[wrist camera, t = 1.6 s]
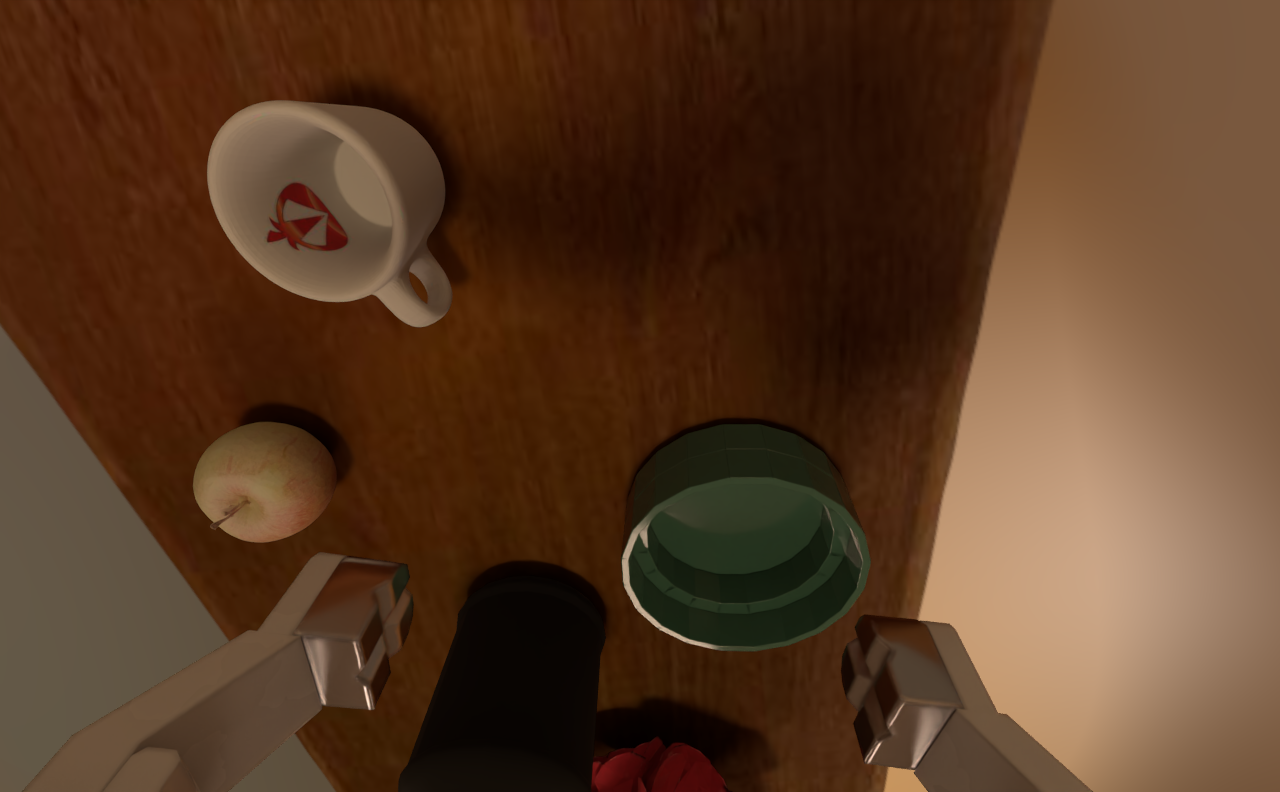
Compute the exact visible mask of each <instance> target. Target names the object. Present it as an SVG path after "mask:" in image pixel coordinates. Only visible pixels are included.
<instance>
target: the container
mask: <svg viewBox="0 0 1280 792" xmlns="http://www.w3.org/2000/svg"><path fill="white" fill-rule="evenodd" d="M605 639H606V636H605V630H604V625H603V620H602V617H601V615H600V614H599V613H598V611H597V610H596V608H595V607H594V605H593V604H592V602H591V601H590V600H589V599H588V598H586V597H585V596H584V595H582V594H581V593H580V592H578V591H577V590H576V589H574V588H573V587H571V586H568V585H566V584H563V583H561V582H559V581H556V580H554V579H548V578H542V577H536V576H516V577H508V578H505V579H501V580H498V581H495V582H491V583H489V584H487V585H485V586H484V587H482V588H481V589H479V590H478V591H476V592H475V593H473V594H472V595H471V596H470V597H469V598H468V600H467V601H466V603H465V604H464V606H463V607H462V609H461V610H460V612H459V613H458V621H457V631H456V634H455V637H454V639H453V642H452V645H451V648H450V650H449V653H448V656H447V658H446V661H445V664H444V667H443V669H442V672H441V675H440V678H439V680H438V683H437V686H436V689H435V691H434V694H433V697H432V700H431V702H430V705H429V708H428V711H427V713H426V716H425V719H424V721H423V724H422V727H421V730H420V732H419V735H418V738H417V741H416V743H415V746H414V749H413V752H412V754H411V757H410V760H409V763H408V765H407V766H406V767H405V769H404V770H403V772H402V773H401V774H400V778H399V786H398V792H591V785H592V770H593V755H594V741H595V726H596V712H597V697H598V683H599V668H600V654H601V652H602V649H603V645H604V642H605Z"/></svg>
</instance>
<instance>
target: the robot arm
mask: <svg viewBox="0 0 1280 792" xmlns="http://www.w3.org/2000/svg"><path fill="white" fill-rule="evenodd" d="M409 578H410V575H409V570H408V565H407V564H403V563H397V562H390V561H383V560H375V559H368V558H361V557H354V556H345V555H337V554H330V553H322V552H319V553H318V554H316V555H315V556H313V557H312V558H311V559H310V560H309V561H308V562H307V564H306V565H305V567H304V568H303V569H302V571H301V572H300V573H299V575H298V576H297V577H296V579H295V580H294V582H293V583H292V584H291V586H290V587H289V588H288V590H287V591H286V593H285V594H284V595H283V597H282V598H281V599H280V601H279V602H278V603H277V605H276V606H275V608H274V609H273V610H272V612H271V613H270V614H269V616H268V617H267V619H266V620H265V621H264V623H263V624H262V625H261V627H260V628H259V630H258V631H251V630H248V631H246V632H245V633H243V634H241V635H240V636H238V637H236V638H235V639H233V640H231V641H230V642H228V643H226V644H225V645H223V646H221V647H220V648H218V649H216V650H214V651H213V652H211V653H210V654H208V655H206V656H204V657H203V658H201V659H199V660H198V661H196V662H194V663H193V664H191V665H189V666H188V667H186V668H184V669H183V670H181V671H179V672H178V673H176V674H174V675H173V676H171V677H169V678H168V679H166V680H164V681H162V682H161V683H159V684H157V685H156V686H154V687H153V688H151V689H149V690H147V691H146V692H144V693H142V694H141V695H139V696H137V697H136V698H134V699H132V700H131V701H129V702H127V703H126V704H124V705H122V706H121V707H119V708H117V709H116V710H114V711H112V712H110V713H109V714H107V715H106V716H104V717H102V718H100V719H99V720H97V721H96V722H94V723H92V724H90V725H89V726H87V727H85V728H84V729H82V730H80V731H79V732H77V733H75V734H74V735H72V736H71V737H70V738H69V740H68V741H67V742H66V743H65V744H64V745H63V746H62V747H61V749H60V750H59V751H58V752H57V753H56V754H55V755H54V756H53V757H52V759H51V760H50V761H49V762H48V763H47V764H46V765H45V766H44V768H43V769H42V770H41V771H40V772H39V773H38V774H37V775H36V777H35V778H34V779H33V780H32V781H31V782H30V783H29V785H27V787H26V788H25V789H24V790H23V791H22V792H228V791H229V790H231V789H232V788H233V787H234V786H235V785H236V784H237V783H238V782H240V781H241V780H242V779H243V778H244V777H245V776H246V775H248V774H249V773H250V772H251V771H252V770H253V769H254V768H255V767H257V766H258V765H259V764H260V763H261V762H262V761H263V760H265V759H266V758H267V757H268V756H269V755H270V754H271V753H272V752H274V751H275V750H276V749H277V748H278V747H279V746H280V745H282V744H283V743H284V742H285V741H286V740H287V739H288V738H290V737H291V736H292V735H293V734H294V733H295V732H296V731H297V730H299V729H300V728H301V727H302V726H303V725H304V724H305V723H307V722H308V721H309V720H310V719H311V718H312V717H313V716H314V715H316V714H317V713H318V712H319V711H320V710H321V709H322V706H333V707H345V708H358V709H370V710H374V708H375V705H376V703H377V701H378V699H379V697H380V695H381V692H382V690H383V688H384V686H385V684H386V682H387V680H388V677H389V675H390V673H391V671H390V666H389V660H388V659H389V658H390V657H391V656H393V655H394V654H396V653H397V652H398V651H400V650H401V649H402V647H403V645H404V642H405V640H406V638H407V635H408V633H409V629H410V625H411V621H412V617H413V605H414V604H413V596H412V594H411V593H410V592H409V591H408V590H407V589H406V588H405V587H406V584H407V582H408V580H409ZM855 630H856V633H857V637H858V638H856V639H854V640H853V641H851V642H849V643H847V646H846V648H845V651H844V653H843V656H842V666H841V674H842V683H843V687H844V691H845V695H846V698H847V700H848V701H849V702H850V703H851V704H852V705H853V706H854V707H855V708H856V710H857V711H858V714H857V716H856V719H855V721H854V723H853V724H854V728H855V731H856V735H857V739H858V742H859V746H860V749H861V753H862V756H863V760H864V763H866V764H873V765H880V766H888V767H895V768H902V769H909V770H915V772H914V774H915V775H916V777H917V778H918V779H919V780H920V782H921V783H922V784H923V786H924V787H925V788H926V790H927V791H928V792H1093V791H1092V790H1090V789H1089V788H1088V787H1087V786H1086V785H1085V784H1084V783H1082V781H1080V780H1079V779H1078V778H1077V777H1076V776H1075V775H1074V774H1073V773H1072V772H1070V771H1069V770H1068V769H1067V768H1066V767H1065V766H1064V765H1063V764H1062V763H1060V762H1059V761H1058V760H1057V759H1056V758H1055V757H1054V756H1053V755H1051V754H1050V753H1049V752H1048V751H1047V750H1046V749H1045V748H1044V747H1043V746H1042V745H1040V744H1039V743H1038V742H1037V741H1036V740H1035V739H1034V738H1033V737H1031V736H1030V735H1029V734H1028V733H1027V732H1026V731H1025V730H1024V729H1023V728H1021V727H1020V726H1019V725H1018V724H1017V723H1016V722H1015V721H1014V720H1012V719H1011V718H1010V717H1009V716H1008V715H1007V714H1001V713H998V712H997V710H996V708H995V706H994V704H993V702H992V700H991V698H990V696H989V694H988V692H987V691H986V689H985V687H984V685H983V683H982V681H981V679H980V677H979V675H978V673H977V671H976V669H975V667H974V665H973V663H972V661H971V659H970V657H969V655H968V653H967V651H966V649H965V647H964V645H963V644H962V641H961V639H960V638H959V636H958V633H957V632H956V630H955V629H954V628H953V627H952V626H951V625H950V624H947V623H937V622H929V621H918V620H915V619H905V618H895V617H885V616H875V615H863V616H862V617H860V618H859V620H858V622H857V624H856V626H855Z"/></svg>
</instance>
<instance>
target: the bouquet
mask: <svg viewBox="0 0 1280 792" xmlns="http://www.w3.org/2000/svg"><path fill="white" fill-rule="evenodd" d="M591 792H732V791H729V790H728V788H727V786H726V784H725V781H724V779H723V778H722V776H721V775H720V774H719V773H718V772H717V770H716V769H715V768H714V767H713V766H712V764H711V761H710V760H709V759H708V758H706V757H705V756H704V755H703V754H702V753H701V752H700V751H699V750H697V749H695V748H693V747H691V746H689V745H687V744H685V743H673V744H671V745H670V746H669V747H668V748H666V747H665V746H664V745H663V741H662V740H661V739H660V738H659V737H658V736H657V737H655V738H654V739H653V740H652V741H650V742H646V743H643V744H640V745H639V746H637V747H636V748H621V749H618V750H616V751H613V752H610V753H609V754H608V755H607V756H596V757H593V770H592V785H591Z"/></svg>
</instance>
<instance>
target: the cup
mask: <svg viewBox="0 0 1280 792" xmlns="http://www.w3.org/2000/svg"><path fill="white" fill-rule="evenodd" d="M207 179H208V187H209V193H210V198H211V201H212V204H213V207H214V210H215V213H216V216H217V218H218V220H219V222H220V224H221V226H222V228H223V230H224V231H225V233H226V235H227V236H228V238H229V239H230V241H231V242H232V244H233V245H234V246H235V248H236V249H237V250H238V251H239V252H240V254H241V255H242V256H243V257H244V258H245V259H246V260H247V261H248V262H249V263H250V264H251V265H252V266H253V267H254V268H255V269H256V270H258V271H259V272H260V273H261V274H263V275H264V276H265V277H267V278H268V279H269V280H271V281H272V282H274V283H276V284H277V285H279V286H281V287H282V288H284V289H286V290H288V291H291V292H293V293H295V294H298V295H300V296H303V297H307V298H310V299H315V300H319V301H327V302H346V301H352V300H357V299H360V298H363V297H366V296H368V295H370V294H373V295H375V296H377V297H378V298H379V299H380V300H381V301H382V302H383V303H384V304H385V305H386V306H387V307H388V309H389V310H390V311H392V312H393V313H394V314H395V315H396V316H397V317H398V318H399V319H400V320H402V321H403V322H405V323H407V324H409V325H411V326H415V327H425V326H428V325H430V324H433V323H435V322H436V321H438V320H439V319H441V318H442V317H443V316H444V315H445V314H446V313H447V311H448V310H449V308H450V305H451V302H452V289H451V285H450V282H449V280H448V278H447V276H446V274H445V272H444V271H443V269H442V268H441V266H440V265H439V263H438V262H437V261H436V259H435V258H434V257H433V256H432V254H431V253H430V251H429V250H428V247H427V239H428V237H429V235H430V233H431V232H432V231H433V229H434V228H435V226H436V224H437V223H438V221H439V219H440V216H441V214H442V211H443V207H444V202H445V182H444V176H443V172H442V169H441V166H440V163H439V161H438V159H437V157H436V155H435V153H434V151H433V150H432V148H431V146H430V145H429V144H428V142H427V141H426V140H425V139H424V138H423V136H422V135H421V134H420V133H419V132H418V131H417V130H415V129H414V128H413V127H412V126H411V125H409V124H408V123H406V122H405V121H403V120H402V119H400V118H398V117H396V116H394V115H392V114H390V113H387V112H384V111H381V110H378V109H373V108H368V107H361V106H349V105H336V104H324V103H312V102H299V101H286V100H278V101H268V102H262V103H258V104H255V105H252V106H249V107H247V108H245V109H243V110H241V111H239V112H237V113H236V114H235V115H233V116H232V117H231V118H230V119H229V120H228V121H227V122H226V123H225V124H224V125H223V126H222V128H221V129H220V130H219V132H218V134H217V135H216V137H215V139H214V141H213V144H212V146H211V150H210V153H209V159H208V168H207ZM409 271H410V272H412V273H413V274H415V275H416V276H417V277H418V278H419V279H420V280H421V282H422V283H423V285H424V286H425V288H426V291H427V294H428V304H426V303H424V302H423V301H422V300H421V299H420V298H419V297H418V296H417V294H416V293H415V291H414V290H413V288H412V286H411V284H410V280H409Z"/></svg>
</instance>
